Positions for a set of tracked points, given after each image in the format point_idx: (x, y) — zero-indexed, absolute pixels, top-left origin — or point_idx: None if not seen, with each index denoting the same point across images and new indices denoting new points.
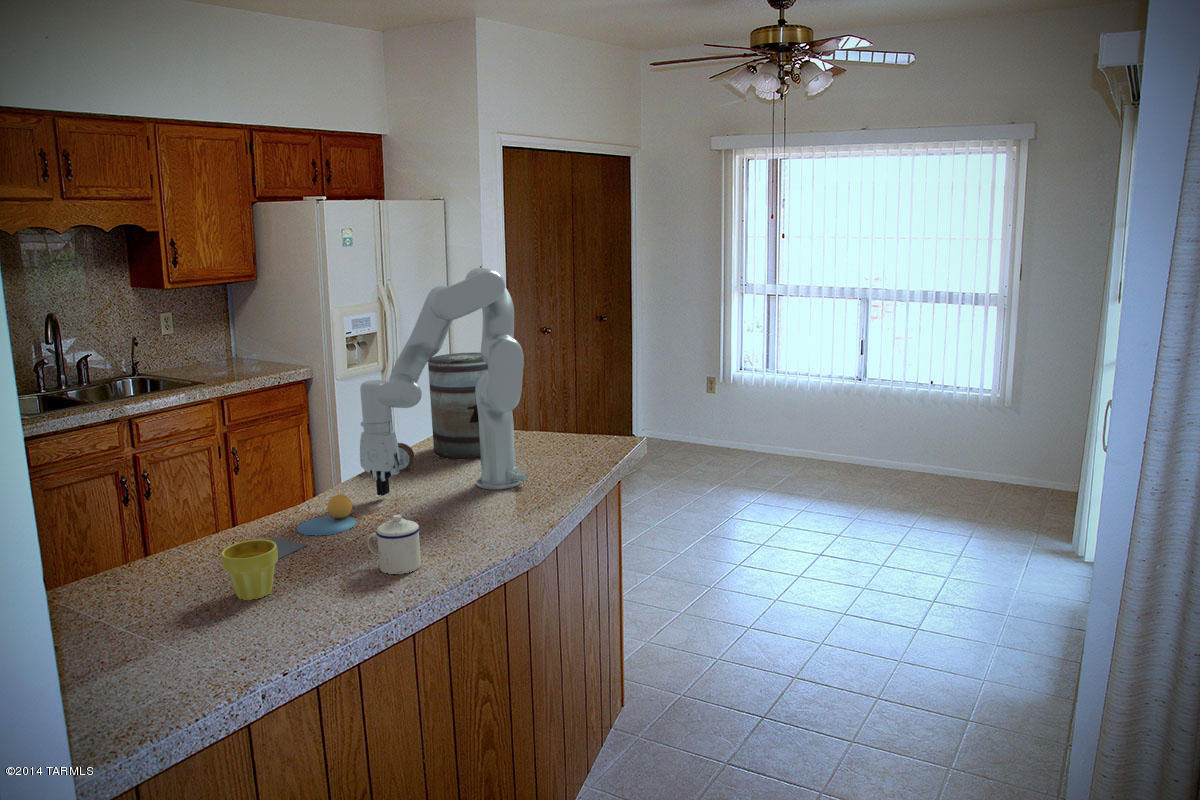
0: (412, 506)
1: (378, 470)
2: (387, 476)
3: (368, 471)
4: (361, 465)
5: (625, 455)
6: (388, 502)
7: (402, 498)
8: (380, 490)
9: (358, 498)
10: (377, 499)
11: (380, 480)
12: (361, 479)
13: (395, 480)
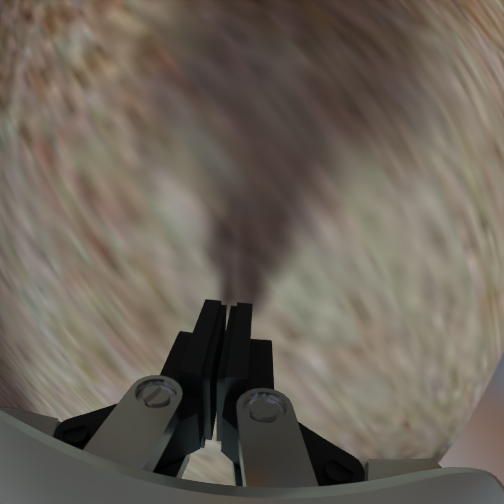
0: (23, 244)
1: (80, 458)
2: (99, 418)
3: (387, 467)
4: (496, 490)
5: None
6: (163, 270)
7: (139, 347)
8: (211, 318)
9: (400, 286)
10: (271, 303)
11: (224, 405)
12: (444, 445)
13: None
